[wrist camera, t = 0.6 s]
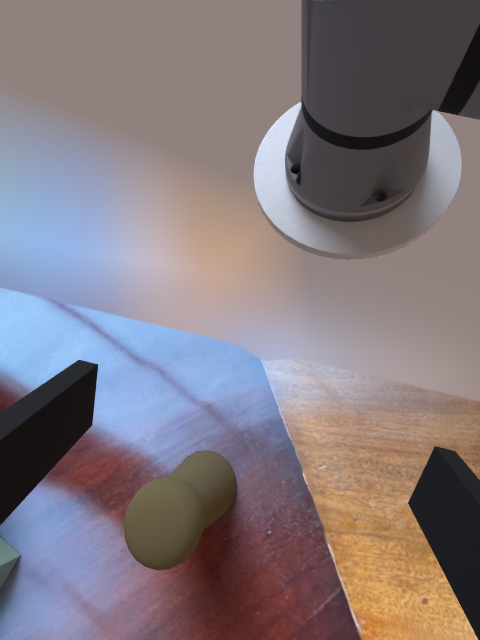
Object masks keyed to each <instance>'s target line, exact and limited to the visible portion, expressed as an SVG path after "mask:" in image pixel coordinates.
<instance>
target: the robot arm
mask: <svg viewBox="0 0 480 640" xmlns="http://www.w3.org/2000/svg"><path fill="white" fill-rule="evenodd" d="M433 110H434V111H440V112H445V113H450V114H455V115H459V116H464V117H470V118H474V119H479V120H480V0H302V102H301V108H300V111H299V113H298V116H297V119H296V122H295V124H294V127H293V130H292V132H291V135H290V138H289V141H288V144H287V147H286V152H285V172H286V179H287V183H288V186H289V188H290V190H291V192H292V194H293V195H294V197H295V198H296V199H297V201H298V202H299V203H300V204H301V205H302V206H304V207H305V208H306V209H308V210H309V211H311V212H312V213H314V214H316V215H318V216H321V217H323V218H327V219H330V220H335V221H342V222H358V221H365V220H370V219H374V218H377V217H380V216H382V215H385V214H387V213H389V212H391V211H392V210H394V209H395V208H397V207H398V206H400V205H401V204H402V203H403V202H404V201H406V200H407V199H408V197H409V196H410V195H411V194H412V193H413V191H414V190H415V188H416V187H417V185H418V183H419V181H420V179H421V177H422V176H423V174H424V172H425V169H426V167H427V163H428V158H429V149H430V134H431V118H432V111H433ZM97 371H98V364H94V363H90V362H86V361H81V360H78V361H77V362H75V363H74V364H72V365H71V366H69V367H68V368H66V369H65V370H63V371H62V372H60V373H59V374H57V375H56V376H54V377H53V378H51V379H50V380H48V381H47V382H45V383H44V384H42V385H41V386H39V387H38V388H37V389H35V390H34V391H32V392H31V393H29V394H28V395H26V396H25V397H23V398H22V399H20V400H19V401H17V402H16V403H14V404H13V405H11V406H10V407H8V408H7V409H5V410H4V411H2V412H1V413H0V525H1V524H2V523H3V522H4V521H5V520H6V518H7V517H8V516H9V515H10V514H11V513H12V512H13V511H14V510H15V509H16V508H17V506H18V505H19V504H20V503H21V502H22V501H23V500H24V499H25V498H26V497H27V496H28V494H29V493H30V492H31V491H32V490H33V489H34V488H35V487H36V486H37V485H38V483H39V482H40V481H41V480H42V479H43V478H44V477H45V476H46V475H47V474H48V473H49V471H50V470H51V469H52V468H53V467H54V466H55V465H56V464H57V463H58V462H59V461H60V459H61V458H62V457H63V456H64V455H65V454H66V453H67V452H68V451H69V450H70V449H71V447H72V446H73V445H74V444H75V443H76V442H77V441H78V440H79V439H80V438H81V437H82V435H83V434H84V433H85V432H86V431H87V430H88V429H89V428H90V427H91V426H92V422H93V412H94V401H95V391H96V381H97ZM408 504H409V506H410V508H411V510H412V512H413V514H414V516H415V517H416V519H417V521H418V523H419V525H420V527H421V529H422V531H423V533H424V535H425V537H426V539H427V541H428V543H429V545H430V547H431V549H432V551H433V552H434V554H435V556H436V558H437V560H438V562H439V564H440V566H441V568H442V570H443V572H444V574H445V576H446V578H447V580H448V582H449V584H450V585H451V587H452V589H453V591H454V593H455V595H456V597H457V599H458V601H459V603H460V605H461V607H462V609H463V611H464V613H465V615H466V617H467V619H468V620H469V622H470V624H471V626H472V628H473V630H474V632H475V634H476V636H477V638H478V640H480V480H479V479H478V478H477V476H476V475H475V474H474V473H473V472H472V470H471V469H470V468H469V467H468V466H467V465H466V463H465V462H464V461H463V460H462V459H461V458H460V456H459V455H458V454H457V453H456V452H455V451H452V450H448V449H444V448H440V447H436V446H435V447H434V449H433V451H432V454H431V456H430V458H429V460H428V462H427V464H426V466H425V468H424V471H423V473H422V475H421V477H420V479H419V481H418V483H417V485H416V487H415V490H414V492H413V494H412V496H411V498H410V500H409V502H408Z"/></svg>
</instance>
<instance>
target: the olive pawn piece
mask: <svg viewBox="0 0 480 640" xmlns="http://www.w3.org/2000/svg"><path fill="white" fill-rule="evenodd" d="M236 487H237V485H236V479H235V474H234V472H233V470H232V467H231V465H230V464H229V463H228V462H227V461H226V459H225V458H224V457H222V456H221V455H219V454H217V453H215V452H211V451H206V450H205V451H199V452H195V453H193V454H191V455H190V456H188V457H187V458H186V459H185V460H184V461H183V462H182V463H181V464H180V465H179V466H178V467H177V468H176V469H175V470H174V471H173V472H172V473H171V474H170V476H166V477H159V478H156V479H154V480H152V481H151V482H149V483H147V484H145V485H143V487H142V488H141V489H140V490H139V491H138V492H137V493H136V494H135V495H134V497H133V498H132V500H131V502H130V504H129V506H128V508H127V511H126V515H125V520H124V532H125V540H126V543H127V546H128V549H129V551H130V552H131V554H132V555H133V557H134V558H135V559H136V560H137V561H138V562H140V563H141V564H142V565H144V566H145V567H148V568H151V569H155V570H165V569H171V568H173V567H174V566H176V565H178V564H180V563H182V562H184V561H185V560H186V559H187V558H188V557H189V556H190V555H191V554H192V553H193V551H194V550H195V549H196V547H197V545H198V543H199V541H200V538H201V536H202V534H203V530H204V529H205V528H207V527H208V526H209V525H211V524H212V523H213V522H215V521H216V520H217V519H219V518H220V517H222V516H223V515H224V514H225V513H226V512H227V511H228V510H229V508H230V507H231V505H232V503H233V501H234V498H235V494H236Z"/></svg>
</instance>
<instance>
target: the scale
mask: <svg viewBox="0 0 480 640" xmlns="http://www.w3.org/2000/svg"><path fill="white" fill-rule="evenodd" d="M19 556H20V554H19V553H17V552H16V551H15V550H14V549H13V548H12V547H11V546H10V545H9V544H8V543H7V542H5V541H4V540H3V539H2V538H1V537H0V589H1V588H2V586H3V584H4V582H5V581H6V579H7V577H8V575H9V574H10V572H11V570H12V569H13V567H14V565H15V563H16V562H17V560H18V558H19Z"/></svg>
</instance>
